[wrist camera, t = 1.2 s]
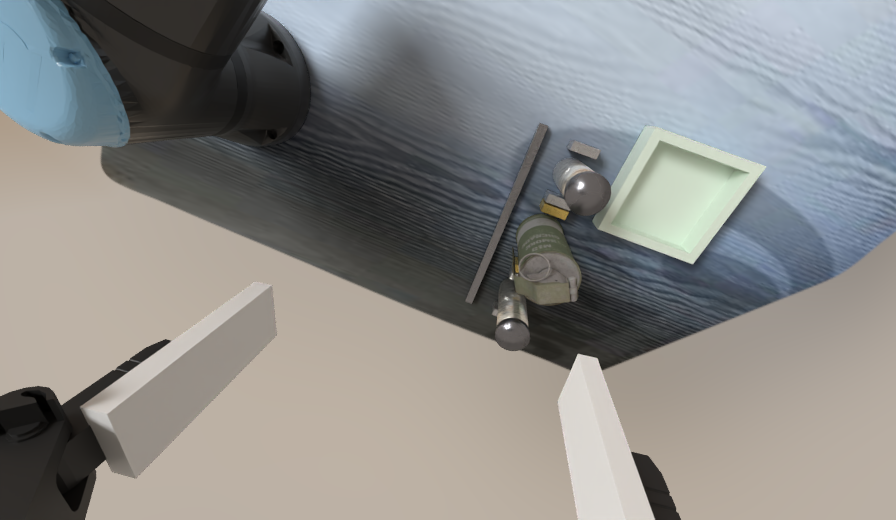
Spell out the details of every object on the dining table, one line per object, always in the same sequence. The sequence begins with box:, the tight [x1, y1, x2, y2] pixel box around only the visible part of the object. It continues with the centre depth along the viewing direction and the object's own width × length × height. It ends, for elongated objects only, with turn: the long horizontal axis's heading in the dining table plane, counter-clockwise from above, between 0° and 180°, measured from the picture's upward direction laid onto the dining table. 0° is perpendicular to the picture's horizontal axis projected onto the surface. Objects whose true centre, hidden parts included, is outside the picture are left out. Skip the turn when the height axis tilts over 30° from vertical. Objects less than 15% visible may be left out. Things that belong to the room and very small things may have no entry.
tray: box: [592, 125, 766, 264], centre depth 37 cm, size 12×12×3 cm
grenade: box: [513, 214, 582, 306], centre depth 36 cm, size 6×6×15 cm
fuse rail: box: [465, 123, 611, 351], centre depth 38 cm, size 7×25×11 cm, turn 162°
